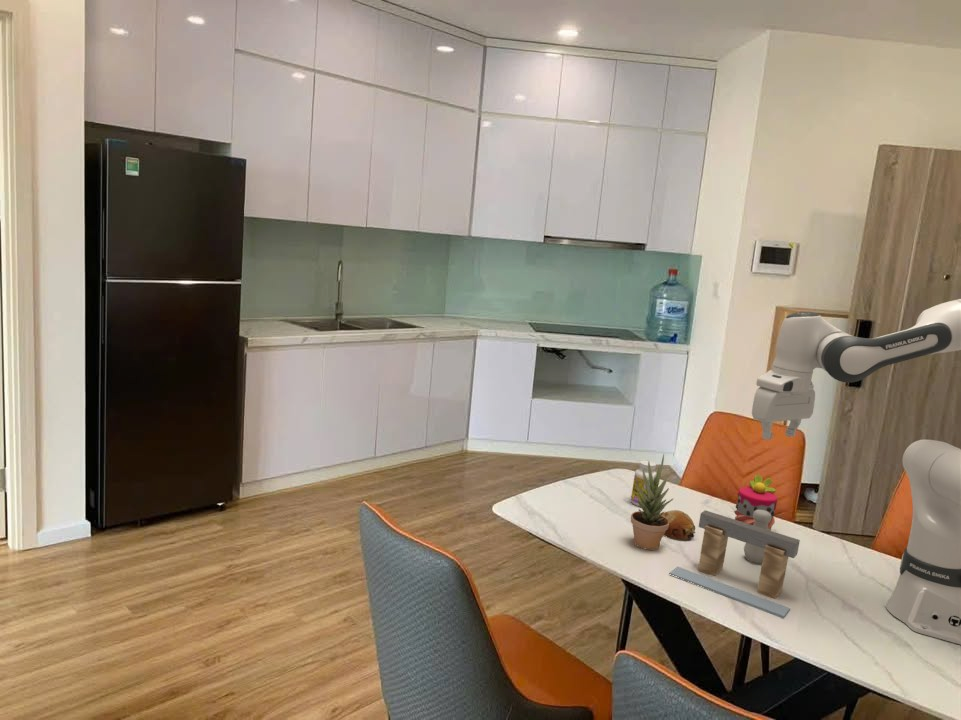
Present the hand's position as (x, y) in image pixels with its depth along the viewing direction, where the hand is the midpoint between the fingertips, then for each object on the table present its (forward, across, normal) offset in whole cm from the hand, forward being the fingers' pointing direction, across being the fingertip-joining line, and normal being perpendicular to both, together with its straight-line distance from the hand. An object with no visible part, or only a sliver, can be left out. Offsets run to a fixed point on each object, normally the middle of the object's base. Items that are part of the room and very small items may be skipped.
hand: (778, 437), depth 171 cm
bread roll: (+35, 0, -23) cm, 42 cm away
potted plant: (+35, +14, -21) cm, 43 cm away
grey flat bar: (+34, +16, +5) cm, 38 cm away
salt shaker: (+34, -6, -3) cm, 35 cm away
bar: (+24, +8, +2) cm, 25 cm away
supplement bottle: (+35, -8, -42) cm, 55 cm away
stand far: (+34, +10, -4) cm, 36 cm away
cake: (+34, -24, -16) cm, 45 cm away
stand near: (+34, +6, +9) cm, 35 cm away
